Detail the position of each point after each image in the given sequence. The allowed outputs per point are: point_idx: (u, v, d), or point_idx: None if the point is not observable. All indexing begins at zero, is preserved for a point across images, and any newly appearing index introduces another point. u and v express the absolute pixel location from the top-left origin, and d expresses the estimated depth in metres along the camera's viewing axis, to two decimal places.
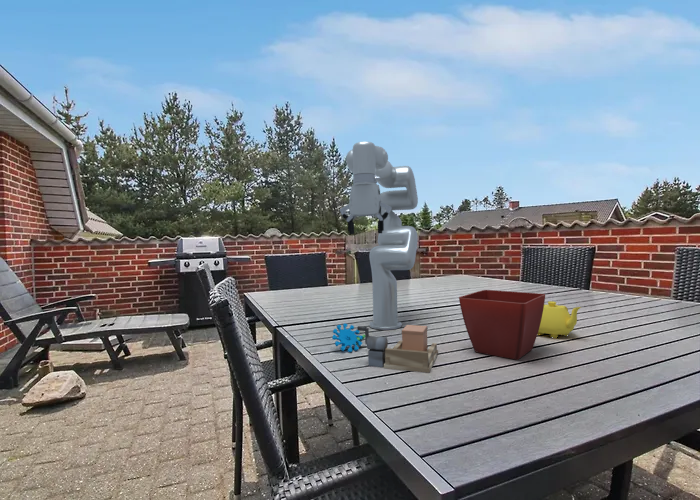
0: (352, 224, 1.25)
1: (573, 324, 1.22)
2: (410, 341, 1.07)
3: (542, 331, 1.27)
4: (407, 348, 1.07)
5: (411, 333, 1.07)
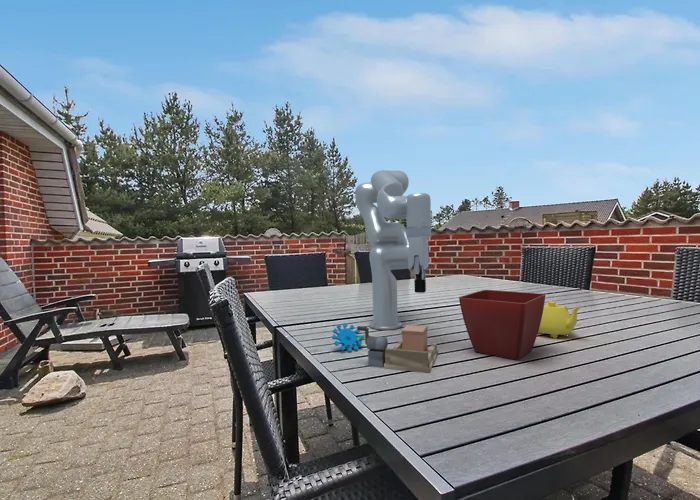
0: None
1: (573, 324, 1.22)
2: (410, 341, 1.07)
3: (542, 331, 1.27)
4: (407, 348, 1.07)
5: (411, 333, 1.07)
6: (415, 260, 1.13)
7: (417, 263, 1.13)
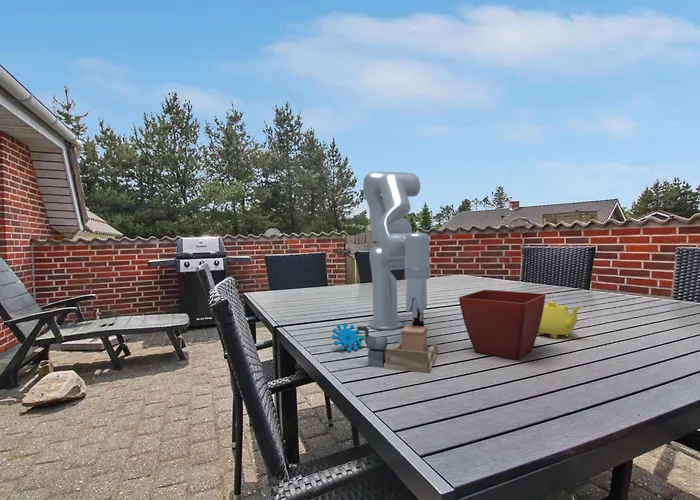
0: None
1: (573, 324, 1.22)
2: (410, 342, 1.06)
3: (542, 331, 1.27)
4: (406, 349, 1.07)
5: (410, 333, 1.06)
6: (413, 303, 1.10)
7: (415, 306, 1.10)
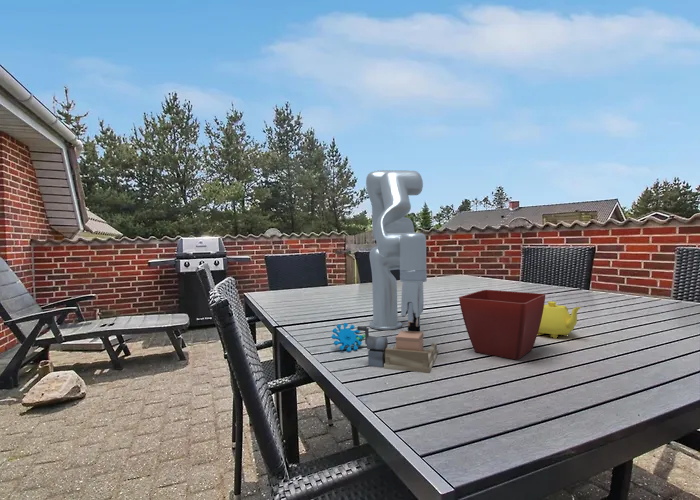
0: None
1: (573, 324, 1.22)
2: (405, 349, 1.00)
3: (542, 331, 1.27)
4: None
5: (405, 339, 1.00)
6: (409, 307, 1.04)
7: (411, 310, 1.04)
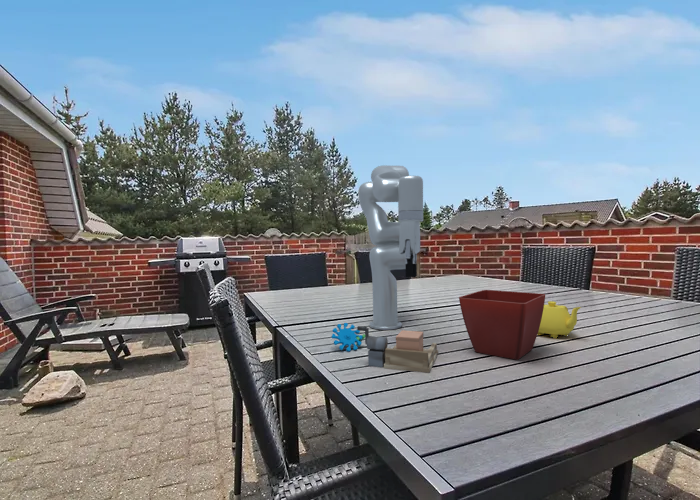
0: None
1: (573, 324, 1.22)
2: (405, 348, 1.00)
3: (542, 331, 1.27)
4: None
5: (405, 339, 1.00)
6: (406, 244, 1.12)
7: (408, 247, 1.11)
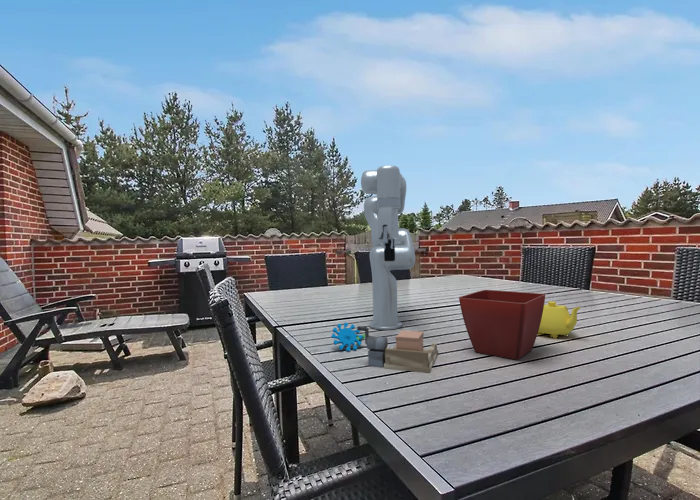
0: None
1: (573, 324, 1.22)
2: (405, 348, 1.00)
3: (542, 331, 1.27)
4: None
5: (405, 339, 1.00)
6: (384, 229, 1.19)
7: (386, 232, 1.18)
